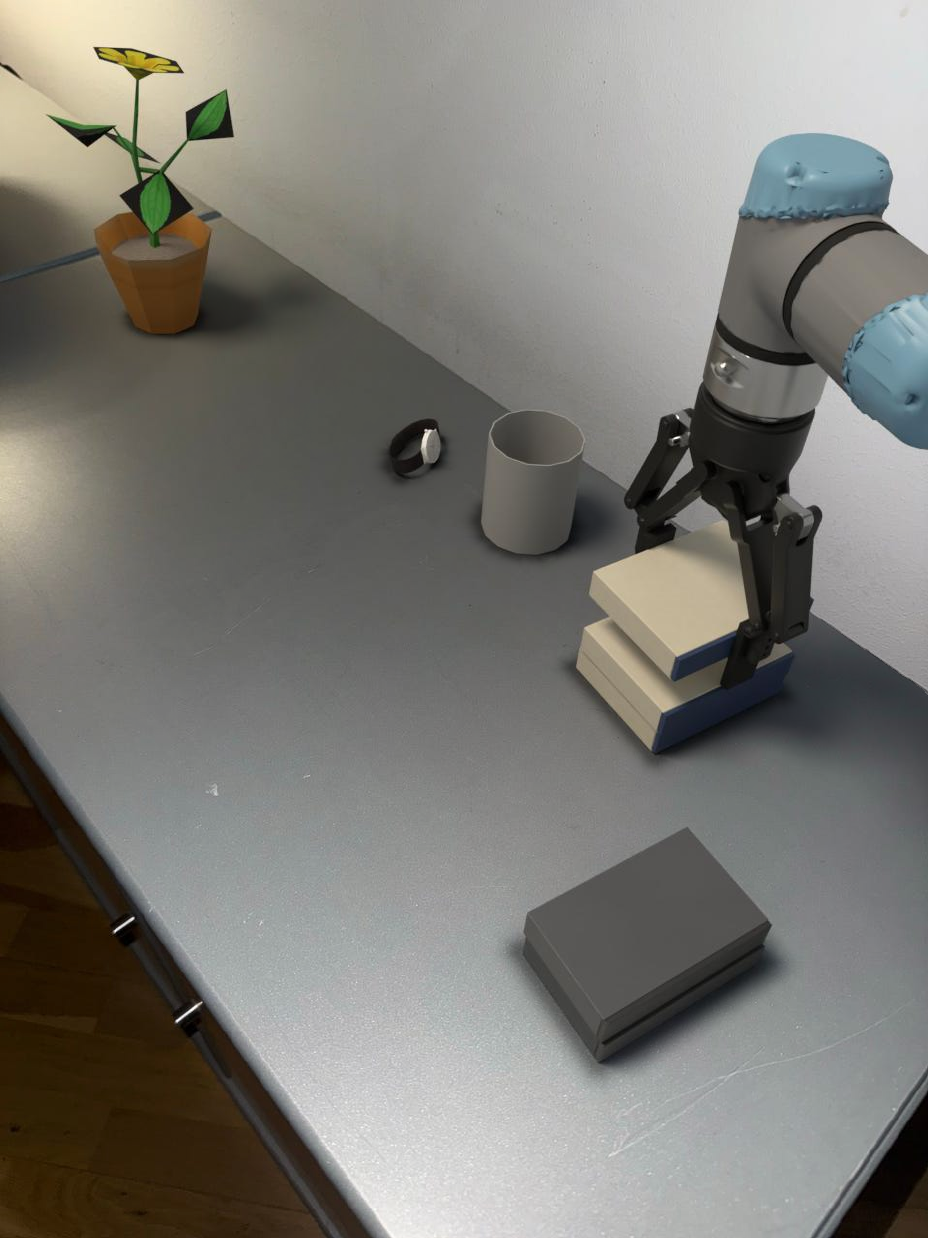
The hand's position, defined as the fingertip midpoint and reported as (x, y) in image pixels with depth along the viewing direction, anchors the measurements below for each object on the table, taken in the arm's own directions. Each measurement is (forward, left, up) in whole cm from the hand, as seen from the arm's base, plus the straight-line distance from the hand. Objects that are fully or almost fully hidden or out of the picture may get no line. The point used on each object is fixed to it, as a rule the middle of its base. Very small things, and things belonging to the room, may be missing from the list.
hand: (689, 634), depth 85 cm
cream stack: (0, 0, -5) cm, 5 cm away
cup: (+22, 0, -6) cm, 23 cm away
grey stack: (-18, +18, -5) cm, 26 cm away
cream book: (0, 0, +3) cm, 3 cm away
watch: (+36, +4, -6) cm, 37 cm away
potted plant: (+72, +16, -6) cm, 74 cm away
